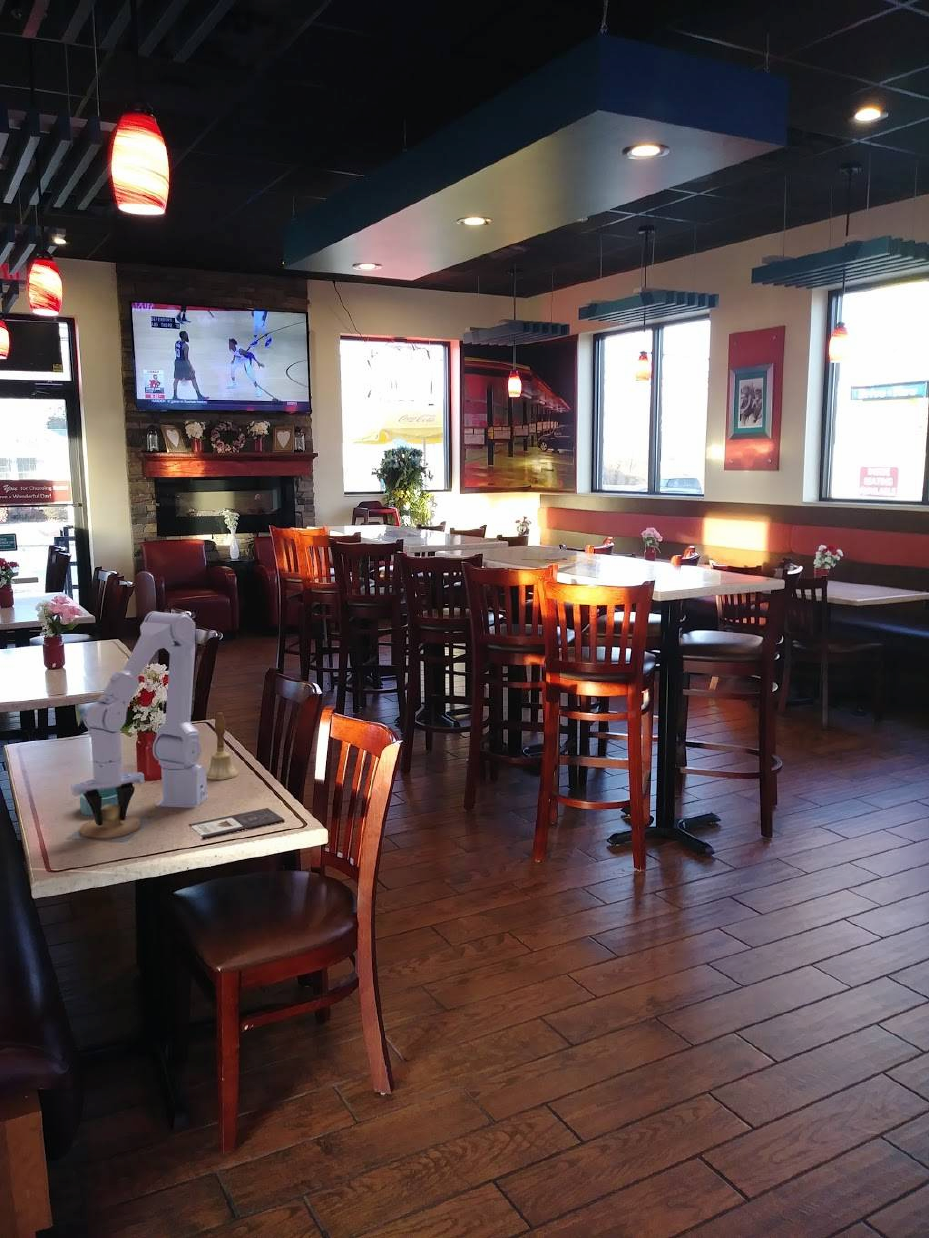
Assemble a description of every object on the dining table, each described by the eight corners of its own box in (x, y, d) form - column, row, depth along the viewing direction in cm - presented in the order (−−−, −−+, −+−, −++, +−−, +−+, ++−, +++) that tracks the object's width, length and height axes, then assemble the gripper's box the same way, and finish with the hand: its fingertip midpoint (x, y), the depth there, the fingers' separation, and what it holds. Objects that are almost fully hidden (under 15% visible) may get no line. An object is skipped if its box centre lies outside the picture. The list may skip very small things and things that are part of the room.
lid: (150, 820, 211) (149, 798, 211) (124, 840, 199) (123, 818, 199) (97, 817, 213) (96, 796, 212) (69, 837, 201) (68, 815, 200)
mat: (153, 821, 212) (153, 819, 212) (126, 843, 199) (125, 841, 199) (96, 818, 213) (96, 816, 213) (65, 840, 201) (65, 838, 200)
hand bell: (216, 768, 250) (214, 707, 247) (244, 772, 247) (242, 710, 244) (197, 778, 242) (194, 715, 240) (225, 781, 239) (223, 718, 237)
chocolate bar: (284, 819, 211) (203, 837, 201) (284, 823, 212) (203, 841, 201) (267, 807, 219) (188, 824, 209) (267, 811, 219) (189, 828, 209)
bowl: (131, 803, 223) (130, 787, 222) (112, 817, 214) (111, 800, 213) (93, 802, 224) (92, 785, 223) (72, 816, 215) (71, 798, 214)
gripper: (134, 748, 211) (137, 809, 213) (65, 760, 203) (69, 823, 205) (146, 756, 206) (149, 818, 208) (75, 768, 197) (79, 833, 199)
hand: (110, 821), depth 206 cm, fingers closed on lid, 4 cm apart
